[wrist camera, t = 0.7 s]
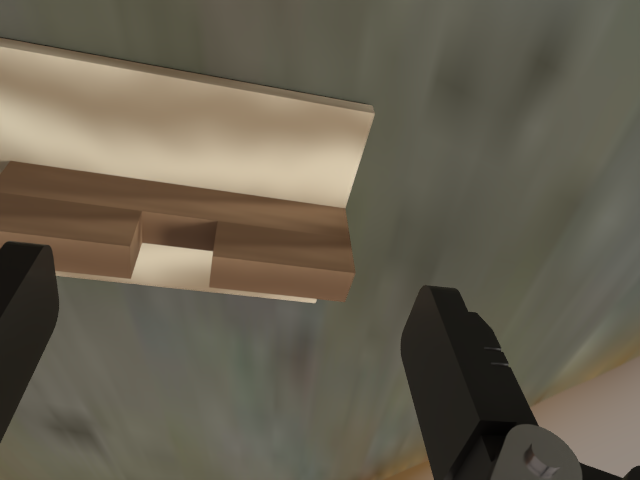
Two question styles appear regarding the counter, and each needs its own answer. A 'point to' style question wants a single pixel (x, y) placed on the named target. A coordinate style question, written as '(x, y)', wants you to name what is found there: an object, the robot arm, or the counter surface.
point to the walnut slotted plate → (177, 229)
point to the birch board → (176, 139)
